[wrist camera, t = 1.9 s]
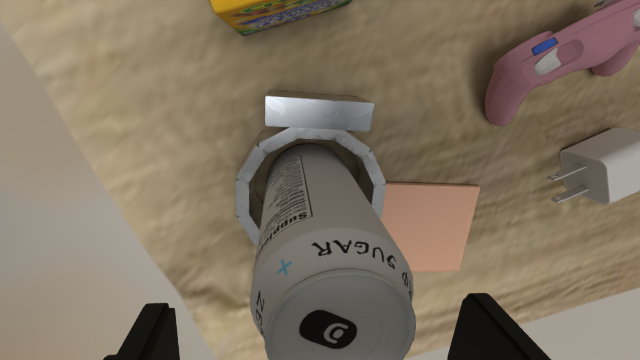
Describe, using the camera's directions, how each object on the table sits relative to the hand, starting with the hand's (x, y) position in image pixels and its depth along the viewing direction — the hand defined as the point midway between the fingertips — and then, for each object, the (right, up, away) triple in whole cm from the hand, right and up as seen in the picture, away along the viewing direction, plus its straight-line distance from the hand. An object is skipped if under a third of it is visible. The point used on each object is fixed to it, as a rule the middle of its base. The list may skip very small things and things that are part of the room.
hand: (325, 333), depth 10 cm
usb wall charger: (+21, +6, +16) cm, 27 cm away
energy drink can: (-1, +5, +14) cm, 15 cm away
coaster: (+9, +1, +16) cm, 18 cm away
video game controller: (+16, +14, +13) cm, 24 cm away
